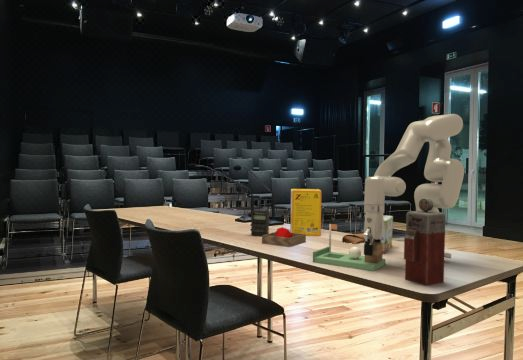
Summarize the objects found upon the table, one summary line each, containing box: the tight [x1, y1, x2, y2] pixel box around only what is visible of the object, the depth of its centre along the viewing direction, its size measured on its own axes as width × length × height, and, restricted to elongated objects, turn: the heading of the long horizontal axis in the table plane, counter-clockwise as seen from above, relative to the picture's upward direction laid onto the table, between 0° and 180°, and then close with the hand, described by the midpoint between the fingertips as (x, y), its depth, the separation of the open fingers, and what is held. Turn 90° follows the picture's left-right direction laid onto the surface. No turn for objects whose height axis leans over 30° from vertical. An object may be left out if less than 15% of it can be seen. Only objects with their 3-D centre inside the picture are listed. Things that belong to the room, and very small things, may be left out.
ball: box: [348, 246, 362, 259], centre depth 168 cm, size 5×5×5 cm
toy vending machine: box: [403, 198, 446, 286], centre depth 143 cm, size 9×11×28 cm
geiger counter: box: [250, 207, 270, 238], centre depth 232 cm, size 10×4×15 cm, turn 72°
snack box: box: [381, 214, 394, 255], centre depth 198 cm, size 21×6×15 cm, turn 155°
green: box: [312, 223, 386, 272], centre depth 170 cm, size 25×14×14 cm, turn 56°
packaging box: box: [289, 188, 322, 237], centre depth 242 cm, size 16×16×25 cm
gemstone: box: [275, 226, 292, 238], centre depth 211 cm, size 9×9×10 cm
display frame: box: [261, 231, 307, 248], centre depth 213 cm, size 16×16×4 cm
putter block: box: [364, 242, 384, 264], centre depth 164 cm, size 5×6×7 cm
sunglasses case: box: [341, 232, 374, 245], centre depth 219 cm, size 18×7×7 cm
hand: (372, 253), depth 164 cm, fingers open, 9 cm apart
